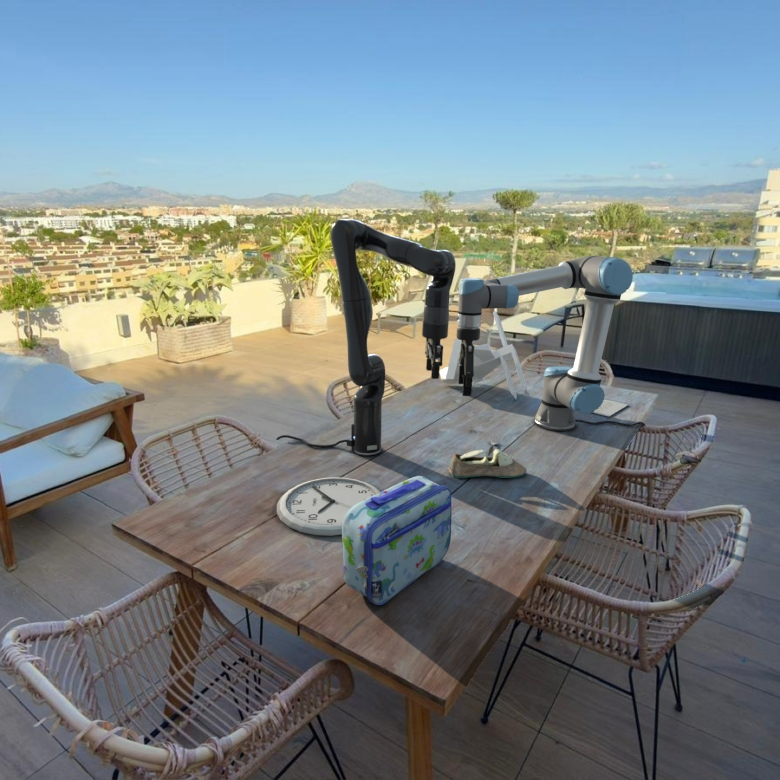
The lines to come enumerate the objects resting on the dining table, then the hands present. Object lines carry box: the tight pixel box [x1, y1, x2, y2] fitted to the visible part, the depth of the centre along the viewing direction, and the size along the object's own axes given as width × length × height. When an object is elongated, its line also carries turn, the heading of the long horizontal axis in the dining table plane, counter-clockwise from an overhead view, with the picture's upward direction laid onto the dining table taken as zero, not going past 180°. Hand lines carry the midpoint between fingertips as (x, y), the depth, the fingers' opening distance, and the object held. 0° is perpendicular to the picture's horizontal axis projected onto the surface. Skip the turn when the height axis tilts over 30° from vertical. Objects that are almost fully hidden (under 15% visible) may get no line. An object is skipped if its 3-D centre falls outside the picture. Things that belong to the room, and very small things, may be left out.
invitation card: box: [591, 398, 629, 418], centre depth 226 cm, size 21×1×15 cm
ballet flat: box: [448, 448, 528, 479], centre depth 161 cm, size 8×25×8 cm, turn 98°
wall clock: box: [276, 476, 382, 537], centre depth 142 cm, size 30×2×30 cm
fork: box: [487, 436, 500, 457], centre depth 181 cm, size 3×16×2 cm, turn 160°
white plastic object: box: [439, 310, 531, 400], centre depth 245 cm, size 37×45×31 cm
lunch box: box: [341, 475, 453, 606], centre depth 111 cm, size 26×11×21 cm, turn 134°
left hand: (432, 374), depth 157 cm, fingers open, 8 cm apart
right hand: (464, 389), depth 176 cm, fingers open, 13 cm apart
